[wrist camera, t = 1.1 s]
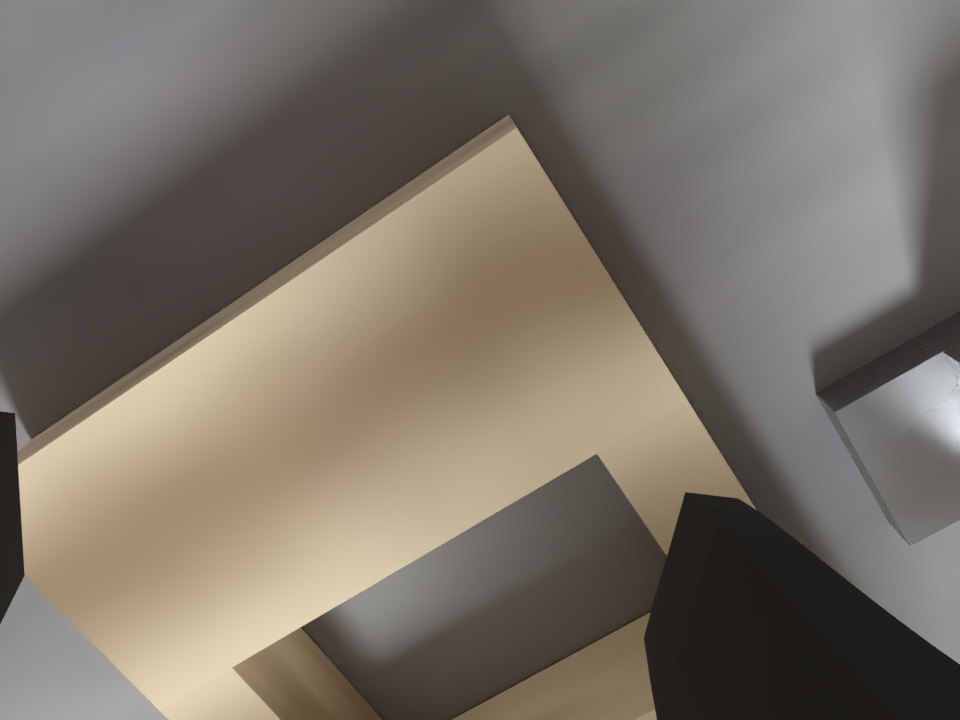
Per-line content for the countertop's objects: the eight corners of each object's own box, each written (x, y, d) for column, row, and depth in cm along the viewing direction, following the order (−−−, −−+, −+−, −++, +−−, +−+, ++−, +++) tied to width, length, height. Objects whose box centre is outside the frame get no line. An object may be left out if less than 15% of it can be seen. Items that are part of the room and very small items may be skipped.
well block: (880, 708, 23) (939, 802, 20) (468, 911, 25) (468, 1021, 22) (508, 114, 17) (516, 127, 15) (30, 440, 20) (-44, 506, 17)
